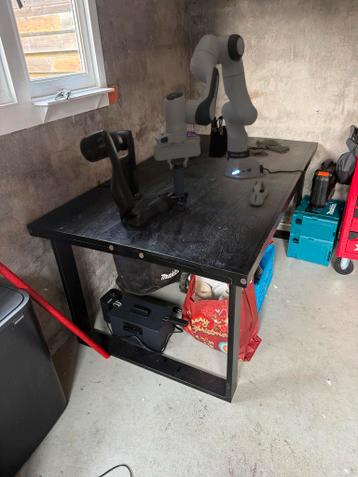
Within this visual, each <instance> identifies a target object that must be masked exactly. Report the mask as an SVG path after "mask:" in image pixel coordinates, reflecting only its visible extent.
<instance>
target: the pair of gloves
mask: <svg viewBox="0 0 358 477" xmlns="http://www.w3.org/2000/svg"><path fill="white" fill-rule="evenodd" d="M255 145H257V146H253V145H248V147H247V149H249V150H251V151H252V152H253V154H252V155H250V156H252V157H254V156H258V155H265V156H268V155H269V153H268V152H267V151H266V150H271V151H274V152H277V153H279V154H280V153H281V154H283V153H287V152H289V151H290V150H291V147H289V146H283V145H281V144H280V143H279V142H277V141H276V140H274V139H271V138H270V139H265V140H262V141H260V140H258V139H257V140H256V142H255Z"/></svg>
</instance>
